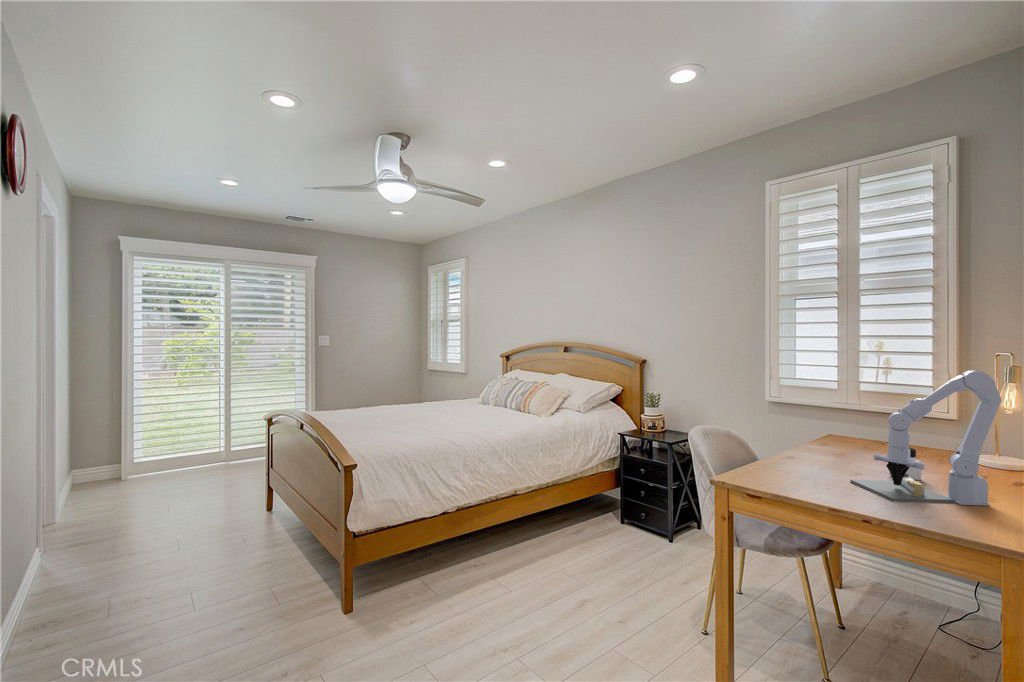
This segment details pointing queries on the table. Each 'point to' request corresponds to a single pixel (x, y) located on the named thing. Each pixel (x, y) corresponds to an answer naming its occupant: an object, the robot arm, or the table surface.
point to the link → (904, 483)
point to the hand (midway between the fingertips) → (897, 484)
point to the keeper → (916, 488)
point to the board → (899, 491)
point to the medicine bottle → (913, 472)
